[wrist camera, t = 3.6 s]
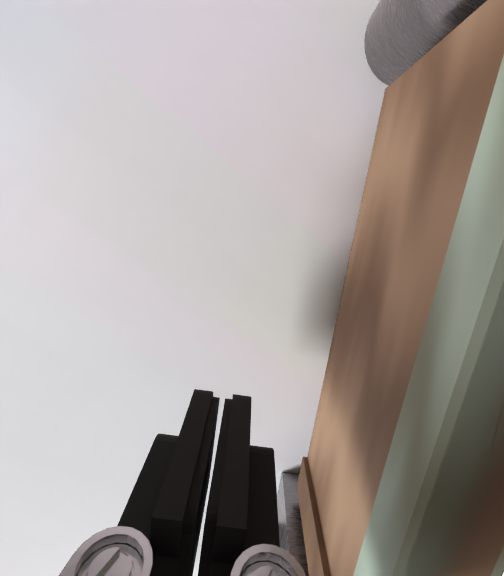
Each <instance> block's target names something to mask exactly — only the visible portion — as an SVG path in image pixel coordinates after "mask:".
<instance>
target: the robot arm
mask: <svg viewBox="0 0 504 576" xmlns="http://www.w3.org/2000/svg"><path fill="white" fill-rule="evenodd" d="M218 407H219V398H217V397H213V392H211V391H204V390H196V389H195V390H194V393H193V396H192V399H191V402H190V405H189V407H188V410H187V413H186V416H185V419H184V422H183V425H182V428H181V431H180V434H179V436H173V435H166V434H158V435H157V436H156V438H155V440H154V442H153V445H152V447H151V449H150V452H149V454H148V456H147V459H146V461H145V463H144V466H143V468H142V470H141V473H140V475H139V477H138V479H137V482H136V484H135V486H134V489H133V491H132V493H131V496H130V498H129V500H128V503H127V505H126V507H125V510H124V512H123V514H122V516H121V519H120V521H119V523H118V526H117V527H112V528H107V529H105V530H103V531H100V532H98V533H96V534H94V535H93V536H92V537H90V538H89V539H88V540H86V541H85V542H84V543H83V544H82V545H81V546H80V547H79V548H78V549H77V551H76V552H75V553H74V554H73V555H72V557H71V558H70V560H69V561H68V563H67V564H66V566H65V567H64V569H63V570H62V572H61V573H60V575H59V576H192V574H193V569H194V563H195V557H196V552H197V546H198V540H199V535H200V529H201V523H202V517H203V512H204V506H205V500H206V495H207V489H208V483H209V477H210V469H211V462H212V454H213V446H214V438H215V430H216V422H217V415H218ZM250 423H251V397H249V396H242V395H234V394H233V399H225V404H224V410H223V416H222V422H221V428H220V434H219V440H218V446H217V452H216V458H215V464H214V470H213V476H212V482H211V488H210V494H209V500H208V506H207V512H206V519H205V525H204V533H203V540H202V548H201V556H200V563H199V571H198V576H306V575H305V572H304V570H303V568H302V567H301V566H300V564H299V563H298V561H297V560H296V559H295V558H294V557H293V556H292V555H291V554H290V553H288V552H287V551H286V550H284V549H282V548H280V540H279V524H278V508H277V492H276V477H275V461H274V450H273V448H266V447H258V446H251V445H250Z"/></svg>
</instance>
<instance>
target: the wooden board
mask: <svg viewBox="0 0 504 576" xmlns="http://www.w3.org/2000/svg"><path fill="white" fill-rule="evenodd" d="M297 492H298V499H299V506H300V513H301V521H302V528H303V535H304V542H305V550H306V557H307V564H308V572H309V576H502V574H503V572H504V0H487V1H486V2H485V3H484V4H482V5H481V6H480V7H479V8H478V9H477V10H476V11H474V12H473V13H472V14H471V15H470V16H469V17H468V18H466V19H465V20H464V21H463V22H462V23H461V24H460V25H458V26H457V27H456V28H455V29H454V30H453V31H452V32H450V33H449V34H448V35H447V36H446V37H445V38H443V39H442V40H441V41H440V42H439V43H438V44H437V45H435V46H434V47H433V48H432V49H431V50H430V51H429V52H427V53H426V54H425V55H424V56H423V57H422V58H421V59H419V60H418V61H417V62H416V63H415V64H414V65H413V66H411V67H410V68H409V69H408V70H407V71H406V72H405V73H403V74H402V75H401V76H400V77H399V78H398V79H397V80H395V81H394V82H393V83H392V84H391V85H390V86H389V87H387V88H386V89H385V93H384V98H383V103H382V107H381V112H380V117H379V122H378V126H377V131H376V136H375V140H374V145H373V150H372V155H371V159H370V164H369V169H368V174H367V178H366V183H365V188H364V192H363V197H362V202H361V207H360V211H359V216H358V221H357V225H356V230H355V235H354V240H353V244H352V249H351V254H350V259H349V263H348V268H347V273H346V277H345V282H344V287H343V292H342V296H341V301H340V306H339V311H338V315H337V320H336V325H335V329H334V334H333V339H332V344H331V348H330V353H329V358H328V363H327V367H326V372H325V377H324V381H323V386H322V391H321V396H320V400H319V405H318V410H317V415H316V419H315V424H314V429H313V433H312V438H311V443H310V448H309V452H308V457H303V459H302V464H301V468H300V473H299V478H298V483H297Z"/></svg>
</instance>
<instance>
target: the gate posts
mask: <svg viewBox="0 0 504 576" xmlns="http://www.w3.org/2000/svg"><path fill="white" fill-rule="evenodd" d="M486 1H487V0H381V1H380V2H379V4H378V6H377V7H376V9H375V11H374V12H373V14H372V16H371V18H370V20H369V23H368V25H367V29H366V34H365V54H366V58H367V61H368V64H369V66H370V68H371V70H372V71H373V73H374V74H375V75H376V77H377V78H378V79H380V80H381V81H382V82H383V83H385V84H387V85H389V86H390V85H391V84H392V83H393V82H394V81H395V80H397V79H398V78H399V77H400V76H401V75H402V74H403V73H405V72H406V71H407V70H408V69H409V68H410V67H411V66H413V65H414V64H415V63H416V62H417V61H418V60H419V59H421V58H422V57H423V56H424V55H425V54H426V53H427V52H429V51H430V50H431V49H432V48H433V47H434V46H435V45H437V44H438V43H439V42H440V41H441V40H442V39H443V38H445V37H446V36H447V35H448V34H449V33H450V32H452V31H453V30H454V29H455V28H456V27H457V26H458V25H460V24H461V23H462V22H463V21H464V20H465V19H466V18H468V17H469V16H470V15H471V14H472V13H473V12H474V11H476V10H477V9H478V8H479V7H480V6H481V5H482V4H484V3H485V2H486ZM298 478H299V475H298V474H290V473H282V476H281V481H280V486H279V491H278V497H277V508H278V524H279V540H280V548H282V549H284V550H286V551H287V552H288V553H290V554H291V555H292V556H293V557H294V558H295V559H296V560H297V561H298V563H299V564H300V566H301V567H302V568H303V570H304V572H305V575H306V576H309V572H308V564H307V557H306V550H305V542H304V535H303V528H302V521H301V513H300V506H299V499H298V492H297V483H298Z"/></svg>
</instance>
